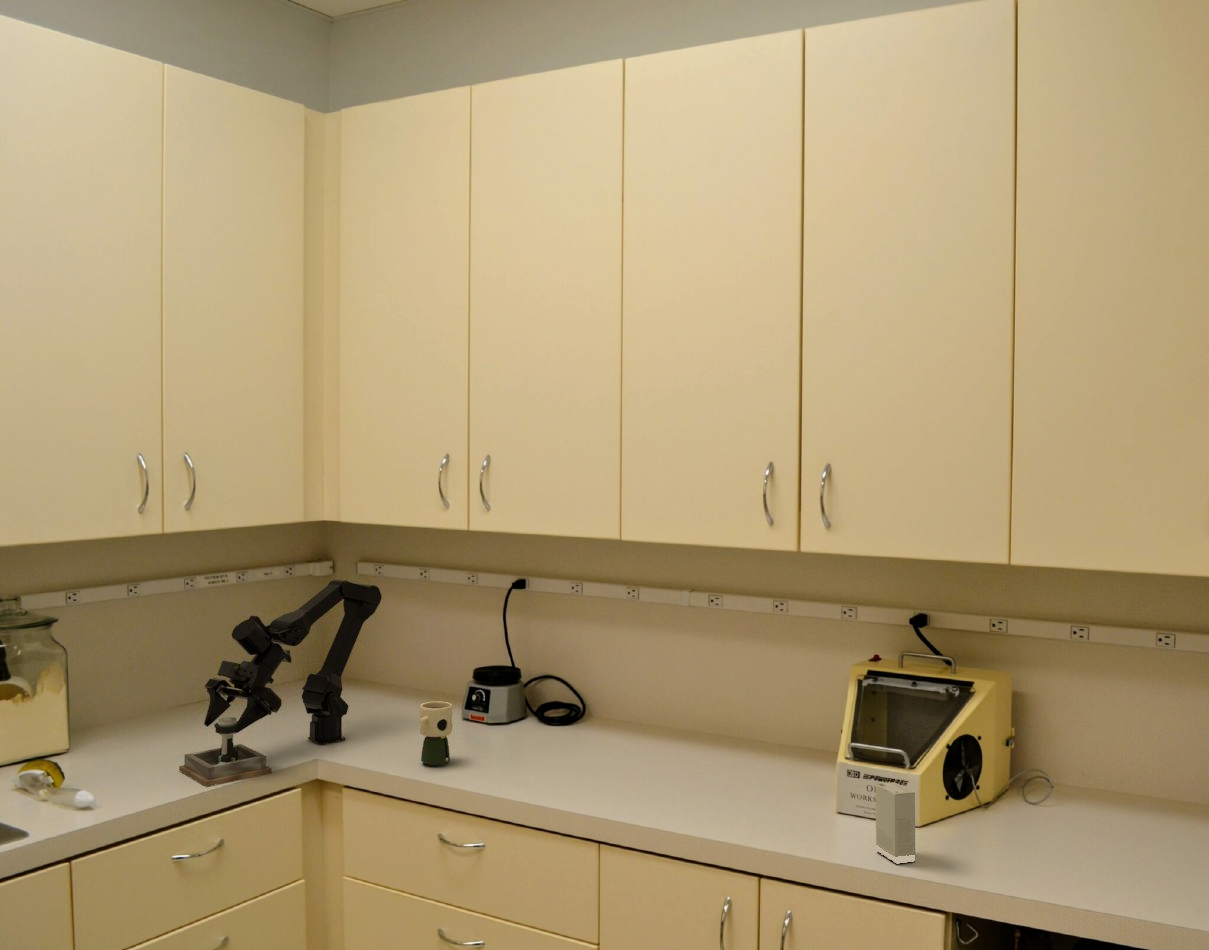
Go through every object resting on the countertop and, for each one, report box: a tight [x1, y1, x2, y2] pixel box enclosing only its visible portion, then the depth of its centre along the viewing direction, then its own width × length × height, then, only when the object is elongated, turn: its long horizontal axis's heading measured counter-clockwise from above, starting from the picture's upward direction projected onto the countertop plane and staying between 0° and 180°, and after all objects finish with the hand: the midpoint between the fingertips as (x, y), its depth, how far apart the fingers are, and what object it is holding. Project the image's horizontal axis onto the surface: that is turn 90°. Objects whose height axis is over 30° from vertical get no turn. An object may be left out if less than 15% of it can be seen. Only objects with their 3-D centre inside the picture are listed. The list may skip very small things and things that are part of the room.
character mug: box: [419, 700, 453, 766], centre depth 226 cm, size 11×7×13 cm, turn 154°
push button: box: [213, 716, 238, 764], centre depth 218 cm, size 7×5×10 cm
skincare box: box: [874, 781, 916, 857], centre depth 177 cm, size 6×4×12 cm
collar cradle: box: [178, 743, 273, 787], centre depth 218 cm, size 14×14×4 cm
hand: (220, 728), depth 217 cm, fingers open, 9 cm apart
